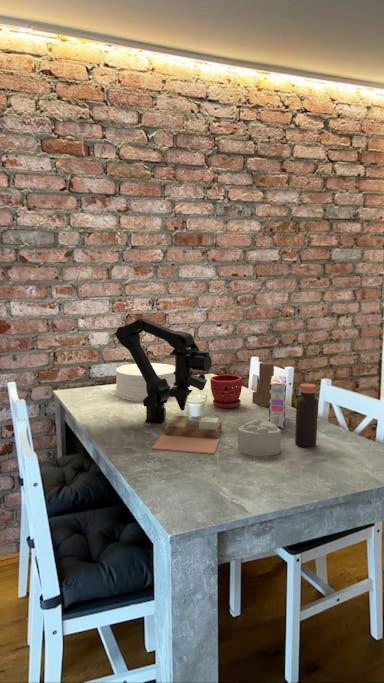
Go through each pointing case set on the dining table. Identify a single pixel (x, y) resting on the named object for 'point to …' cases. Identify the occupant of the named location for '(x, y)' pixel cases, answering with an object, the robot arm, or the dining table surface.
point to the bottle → (306, 417)
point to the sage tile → (209, 423)
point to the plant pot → (226, 390)
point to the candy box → (277, 401)
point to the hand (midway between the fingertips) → (182, 410)
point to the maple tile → (177, 421)
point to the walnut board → (193, 431)
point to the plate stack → (140, 380)
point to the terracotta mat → (187, 444)
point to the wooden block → (264, 384)
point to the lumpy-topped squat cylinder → (259, 438)
